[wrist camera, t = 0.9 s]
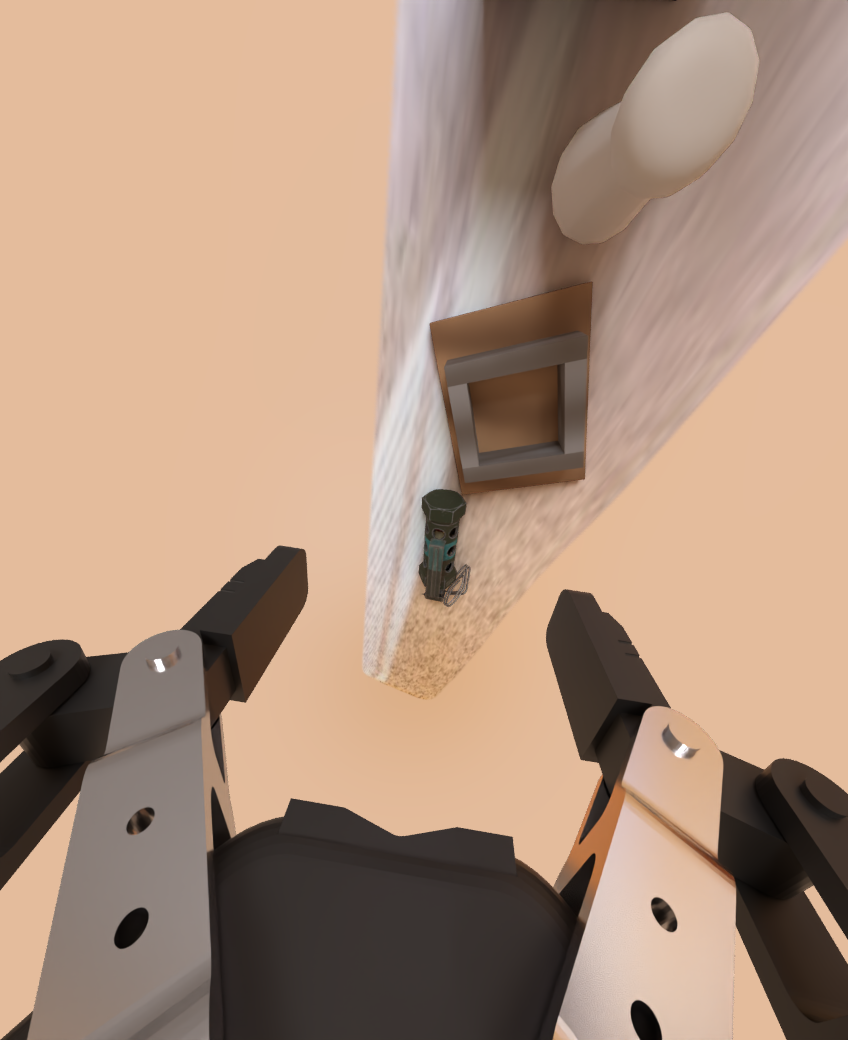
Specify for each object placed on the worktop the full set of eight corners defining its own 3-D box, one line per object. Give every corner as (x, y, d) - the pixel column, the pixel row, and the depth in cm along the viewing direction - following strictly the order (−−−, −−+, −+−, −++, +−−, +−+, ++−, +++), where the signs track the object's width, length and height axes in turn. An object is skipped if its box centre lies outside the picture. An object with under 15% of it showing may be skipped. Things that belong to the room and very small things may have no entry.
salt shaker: (559, 266, 24) (618, 251, 14) (533, 169, 22) (582, 60, 11) (649, 212, 22) (801, 146, 12) (632, 97, 19) (809, -122, 9)
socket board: (431, 322, 27) (424, 327, 24) (588, 282, 25) (605, 281, 21) (462, 489, 36) (460, 510, 33) (582, 474, 33) (593, 495, 30)
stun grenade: (427, 484, 37) (422, 575, 45) (413, 515, 32) (410, 611, 40) (483, 493, 36) (468, 584, 44) (478, 526, 31) (461, 622, 39)
